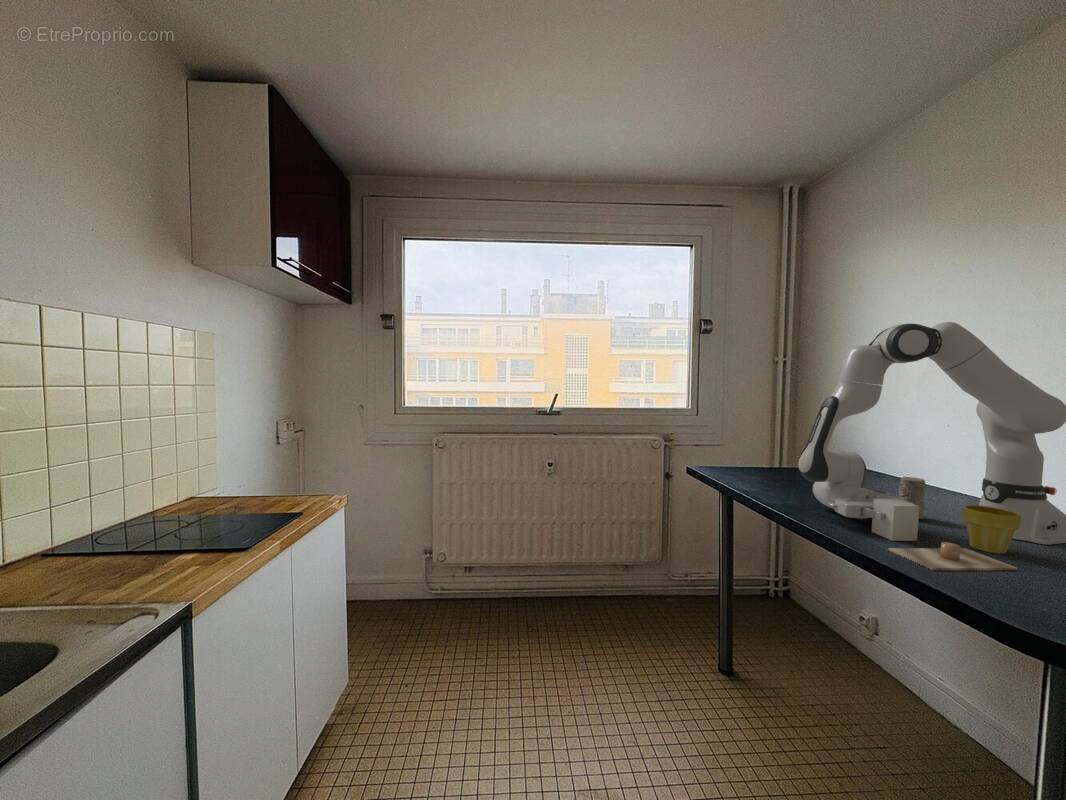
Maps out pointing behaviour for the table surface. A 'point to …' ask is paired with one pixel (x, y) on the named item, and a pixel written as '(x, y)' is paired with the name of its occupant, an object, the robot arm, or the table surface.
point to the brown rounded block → (950, 551)
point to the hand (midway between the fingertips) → (897, 516)
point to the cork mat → (936, 562)
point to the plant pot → (990, 527)
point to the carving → (913, 492)
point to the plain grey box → (896, 520)
